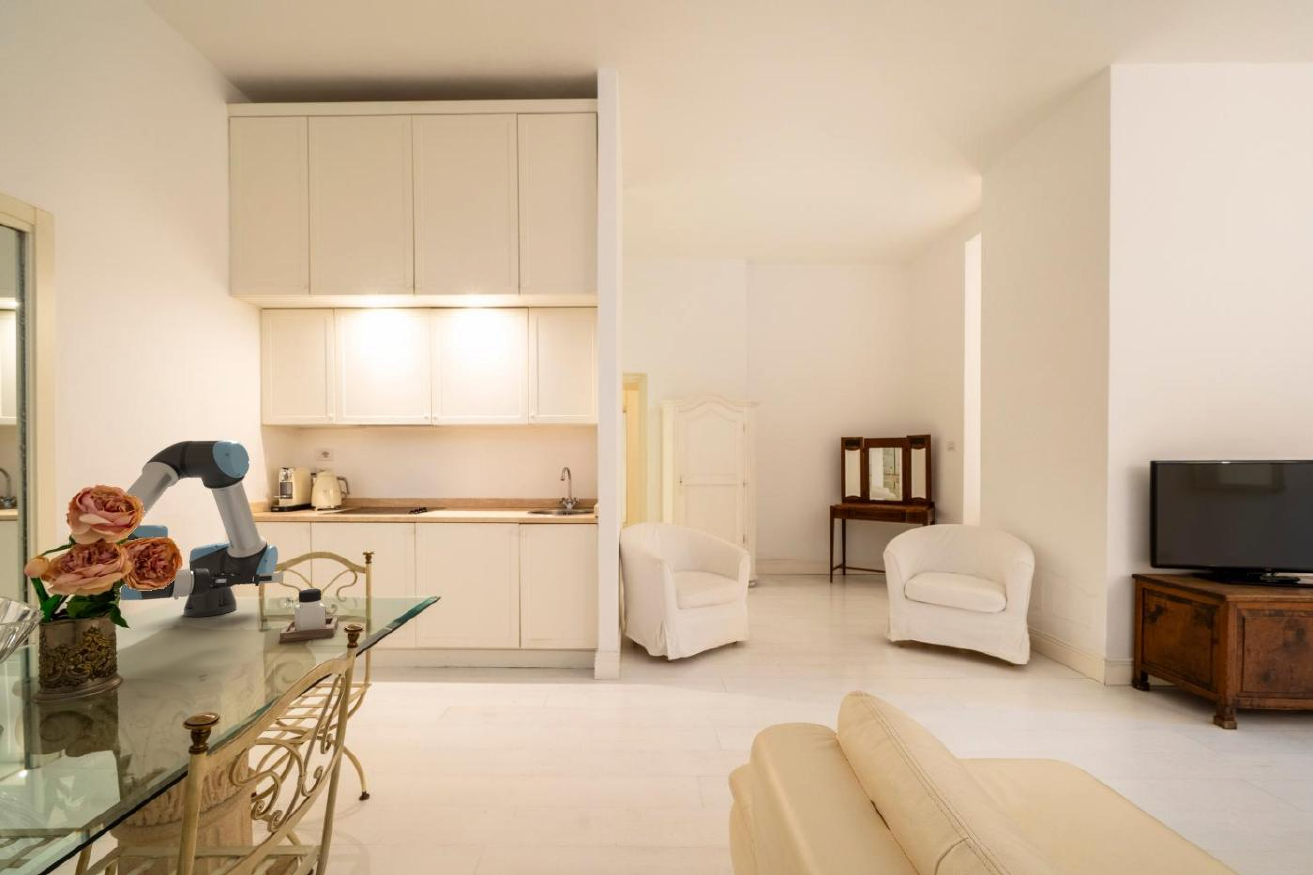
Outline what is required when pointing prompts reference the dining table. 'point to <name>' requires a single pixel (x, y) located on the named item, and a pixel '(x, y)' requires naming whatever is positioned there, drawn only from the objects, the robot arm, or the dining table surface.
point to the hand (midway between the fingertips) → (274, 578)
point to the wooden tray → (308, 631)
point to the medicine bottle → (310, 610)
